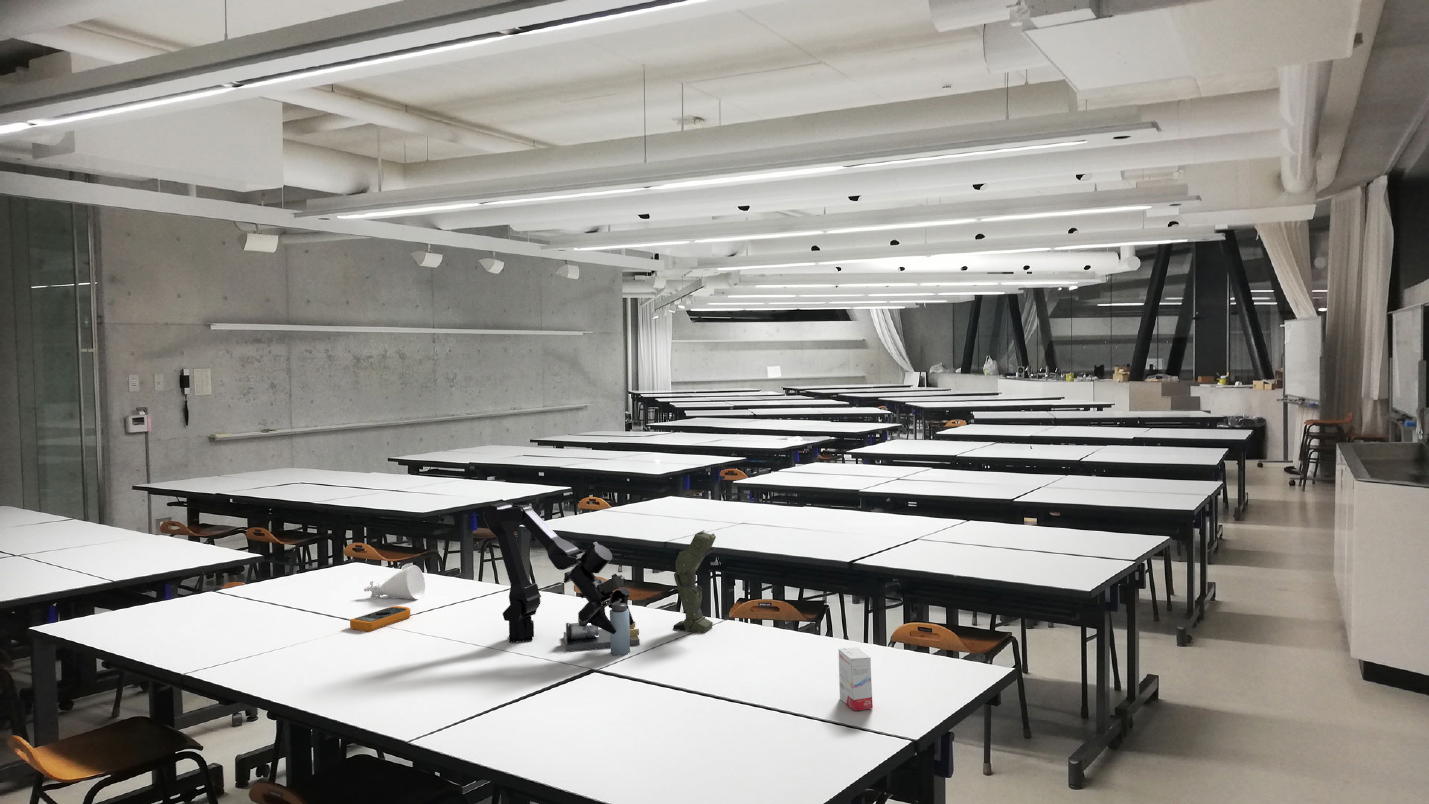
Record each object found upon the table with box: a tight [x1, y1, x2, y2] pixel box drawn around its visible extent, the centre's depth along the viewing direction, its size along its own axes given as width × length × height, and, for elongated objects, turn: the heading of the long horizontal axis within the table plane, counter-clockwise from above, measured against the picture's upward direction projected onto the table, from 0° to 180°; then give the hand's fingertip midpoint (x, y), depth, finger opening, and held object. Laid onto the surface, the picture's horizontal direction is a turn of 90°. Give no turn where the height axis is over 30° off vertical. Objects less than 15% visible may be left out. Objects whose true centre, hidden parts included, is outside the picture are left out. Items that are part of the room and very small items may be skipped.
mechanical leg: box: [672, 529, 717, 634], centre depth 271 cm, size 14×7×30 cm, turn 68°
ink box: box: [838, 646, 874, 712], centre depth 211 cm, size 9×5×12 cm, turn 13°
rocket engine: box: [363, 564, 426, 600], centre depth 315 cm, size 12×12×18 cm
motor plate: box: [563, 617, 641, 652], centre depth 262 cm, size 20×13×7 cm, turn 103°
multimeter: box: [349, 605, 411, 633], centre depth 284 cm, size 9×18×3 cm, turn 153°
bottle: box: [609, 603, 631, 656], centre depth 251 cm, size 5×5×13 cm
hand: (624, 628), depth 250 cm, fingers open, 9 cm apart
